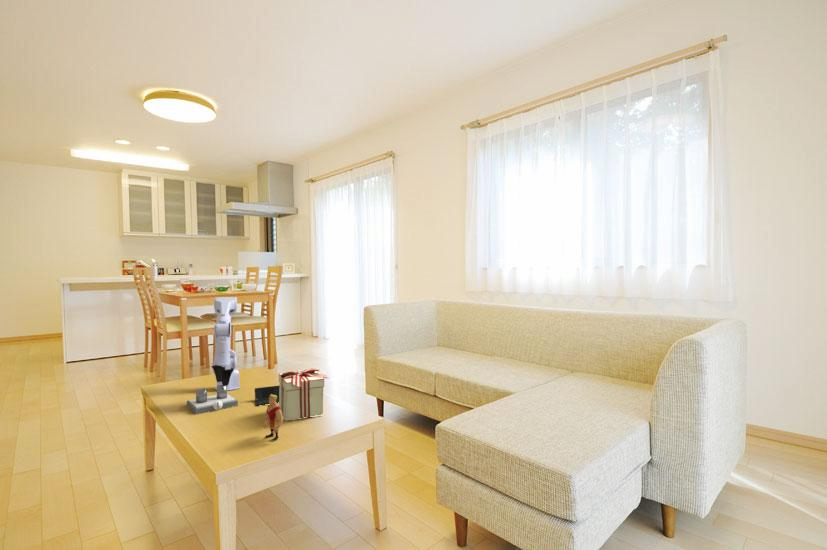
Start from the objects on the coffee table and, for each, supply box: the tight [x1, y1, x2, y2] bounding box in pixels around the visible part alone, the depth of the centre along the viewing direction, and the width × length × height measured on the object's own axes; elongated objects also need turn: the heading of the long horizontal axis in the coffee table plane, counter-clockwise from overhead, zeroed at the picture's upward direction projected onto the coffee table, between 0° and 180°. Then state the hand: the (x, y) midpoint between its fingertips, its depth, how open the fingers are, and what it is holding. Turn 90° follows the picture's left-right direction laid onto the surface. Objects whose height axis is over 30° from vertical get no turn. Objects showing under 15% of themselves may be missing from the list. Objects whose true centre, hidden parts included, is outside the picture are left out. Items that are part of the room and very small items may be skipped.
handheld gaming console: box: [254, 385, 280, 407], centre depth 176 cm, size 12×7×10 cm
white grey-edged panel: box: [186, 393, 239, 415], centre depth 169 cm, size 16×15×4 cm
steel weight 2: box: [216, 385, 228, 399], centre depth 172 cm, size 4×4×5 cm
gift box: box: [278, 367, 329, 422], centre depth 160 cm, size 17×18×17 cm
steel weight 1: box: [195, 387, 208, 403], centre depth 167 cm, size 4×4×5 cm
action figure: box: [262, 394, 284, 441], centre depth 136 cm, size 10×4×15 cm, turn 47°
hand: (222, 383), depth 172 cm, fingers open, 7 cm apart
